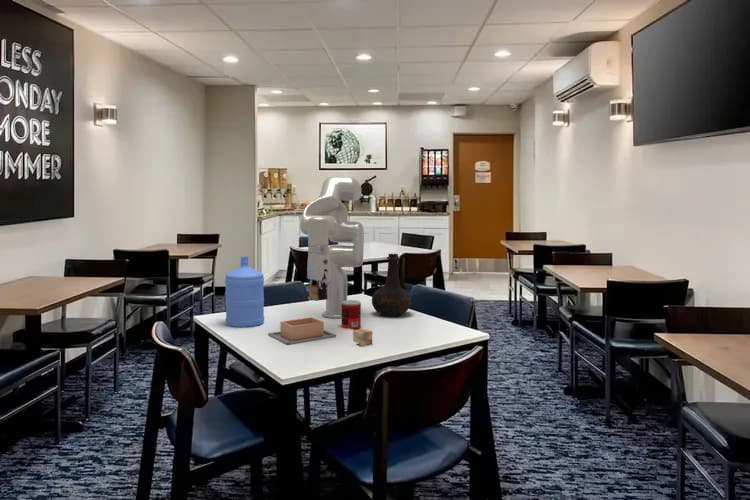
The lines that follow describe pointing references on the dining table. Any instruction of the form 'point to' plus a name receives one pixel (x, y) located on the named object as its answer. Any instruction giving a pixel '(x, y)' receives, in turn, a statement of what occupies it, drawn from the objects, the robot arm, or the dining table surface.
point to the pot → (302, 329)
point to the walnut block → (315, 292)
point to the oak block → (362, 337)
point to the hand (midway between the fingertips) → (318, 297)
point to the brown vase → (391, 292)
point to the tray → (278, 337)
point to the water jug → (244, 296)
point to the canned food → (351, 314)
